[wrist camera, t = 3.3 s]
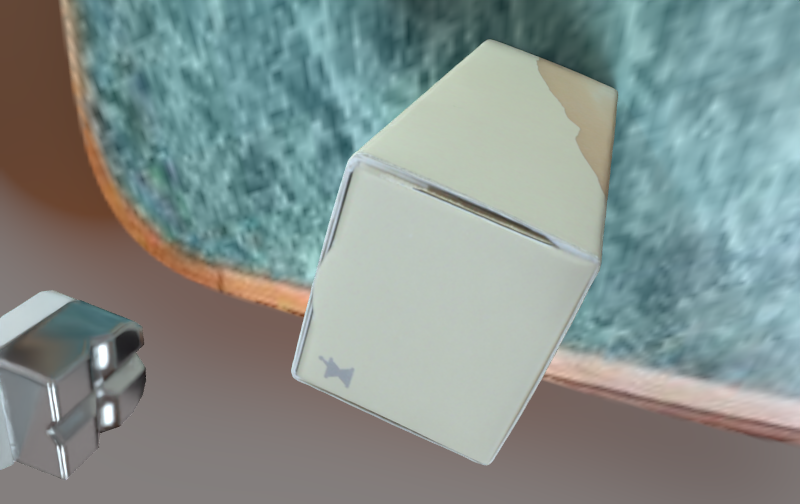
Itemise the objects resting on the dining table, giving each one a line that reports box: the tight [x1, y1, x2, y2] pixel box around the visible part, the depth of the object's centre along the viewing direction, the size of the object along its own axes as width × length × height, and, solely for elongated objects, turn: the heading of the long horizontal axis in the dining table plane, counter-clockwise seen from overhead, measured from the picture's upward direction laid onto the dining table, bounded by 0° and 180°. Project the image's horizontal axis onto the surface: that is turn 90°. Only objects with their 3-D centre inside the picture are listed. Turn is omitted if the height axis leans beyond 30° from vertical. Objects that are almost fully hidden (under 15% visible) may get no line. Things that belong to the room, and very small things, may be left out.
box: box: [291, 39, 618, 465], centre depth 16 cm, size 5×4×11 cm
